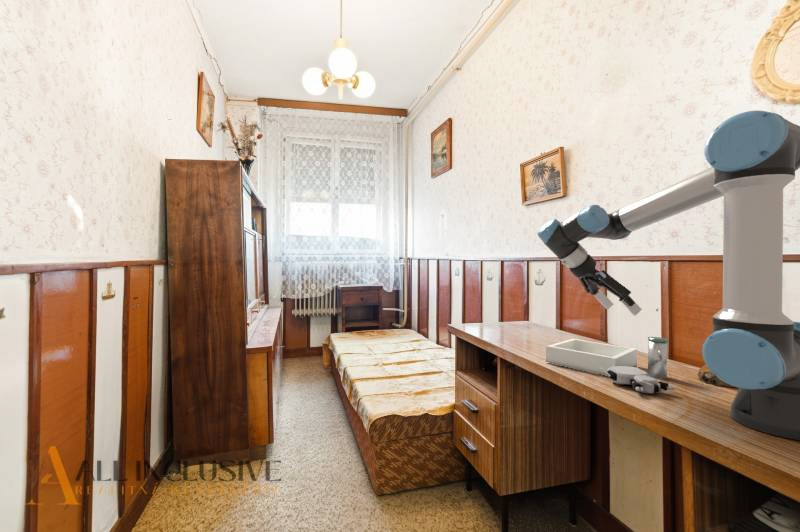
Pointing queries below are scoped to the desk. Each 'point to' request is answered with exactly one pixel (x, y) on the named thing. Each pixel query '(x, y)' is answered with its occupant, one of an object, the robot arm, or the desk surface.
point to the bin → (590, 355)
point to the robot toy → (636, 379)
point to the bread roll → (710, 377)
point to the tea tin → (657, 357)
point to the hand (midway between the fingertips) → (623, 309)
